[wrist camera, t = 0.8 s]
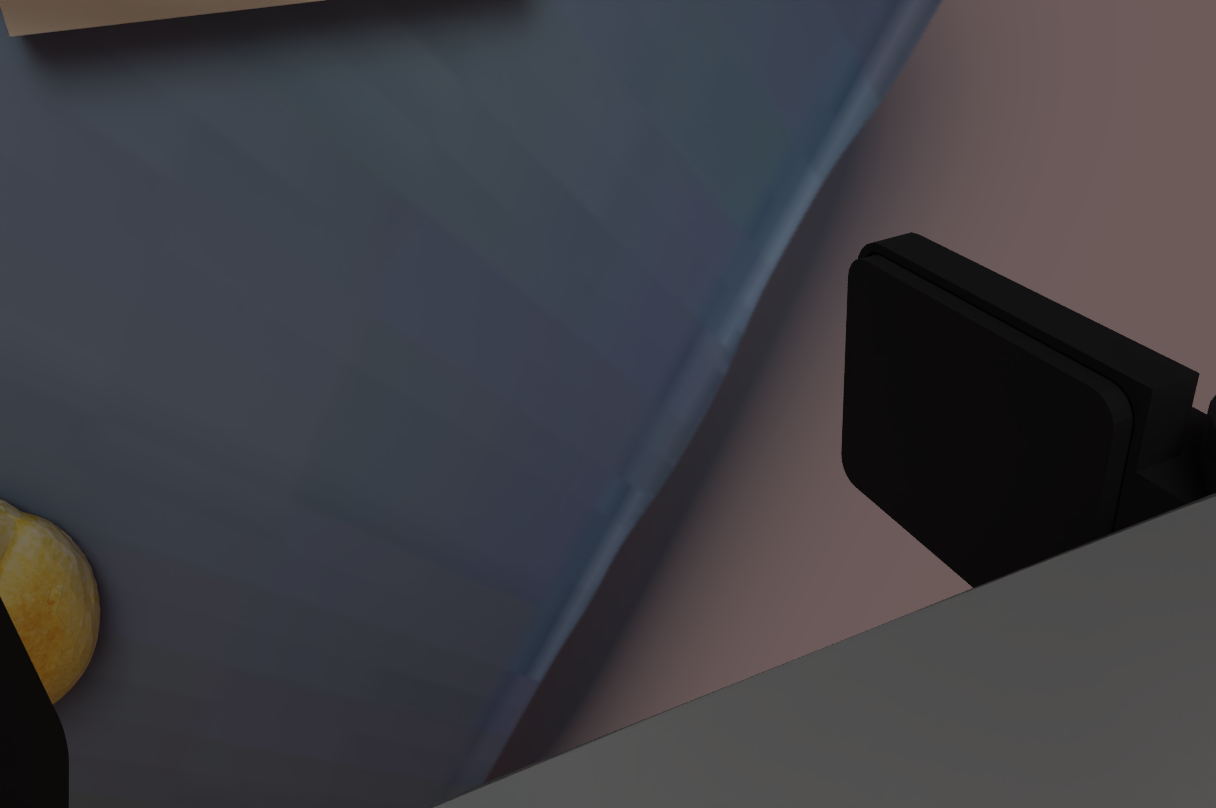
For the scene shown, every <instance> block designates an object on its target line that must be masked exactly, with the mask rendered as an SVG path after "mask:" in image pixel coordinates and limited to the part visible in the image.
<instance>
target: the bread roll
mask: <svg viewBox="0 0 1216 808" xmlns="http://www.w3.org/2000/svg"><path fill="white" fill-rule="evenodd" d="M0 597H1V599H2V601H3V603H4V605H5V607H6V609H7V611H8V613H9V615H10V617H11V620H12V622H13V624H14V626H15V628H16V630H17V632H18V634H19V636H20V638H21V640H22V642H23V644H24V646H25V649H26V651H27V653H28V655H29V657H30V659H31V661H32V663H33V665H34V667H35V669H36V671H37V673H38V675H39V678H40V680H41V682H42V684H43V686H44V688H45V690H46V692H47V694H48V696H49V698H50V700H51V702H52V704H54V703H56V702H57V701H58V700H60V699H61V698H62V697H63V696H64V695H65V694H66V693H67V692H68V691H69V690H70V689H71V688H72V687H73V686H74V685H75V684H76V682H77V681H78V680H79V679H80V677H81V676H82V675H83V673H84V671H85V670H86V668H87V666H88V664H89V662H90V660H91V658H92V655H93V653H94V650H95V646H96V643H97V639H98V632H99V625H100V604H99V599H100V598H99V594H98V588H97V582H96V580H95V578H94V575H93V571H92V568H91V566H90V564H89V562H88V560H87V558H86V556H85V555H84V554H83V552H82V551H81V549H80V548H79V546H78V545H77V544H76V543H75V542H74V541H73V540H72V538H71V537H69V536H68V535H67V534H66V533H65V532H64V531H63V530H61V529H60V528H59V527H58V526H56V525H55V524H53V523H51V522H50V521H48V520H46V519H44V518H42V517H39V516H36V515H32V514H29V513H25V512H22V511H20V510H18V509H17V508H15V507H14V506H12V505H10V504H9V503H7V502H6V501H5V500H1V499H0Z"/></svg>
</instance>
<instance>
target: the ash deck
mask: <svg viewBox="0 0 1216 808" xmlns="http://www.w3.org/2000/svg"><path fill="white" fill-rule="evenodd" d="M315 1H324V0H0V7H1V10H2V13H3V16H4V20H5V23H6V26H7V29H8V32H9V35H10V37H12V36H21V35H29V34H38V33H47V32H55V31H64V30H73V29H81V28H90V27H99V26H107V25H116V24H125V23H133V22H142V21H150V20H159V19H168V18H176V17H185V16H194V15H202V14H211V13H220V12H228V11H237V10H246V9H254V8H263V7H272V6H280V5H289V4H298V3H306V2H315Z"/></svg>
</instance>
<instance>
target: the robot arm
mask: <svg viewBox="0 0 1216 808" xmlns="http://www.w3.org/2000/svg"><path fill="white" fill-rule="evenodd" d="M845 347H846V348H845V373H844V401H843V426H842V453H841V455H842V463H843V467H844V470H845V472H846V475H847V477H848V478H849V480H850V481H851V483H852V484H853V485H854V486H855V487H856V488H858V489H859V490H860V491H861V492H862V493H863V494H864V495H866V496H867V497H868V498H869V499H870V500H871V501H873V502H874V503H875V504H876V505H877V506H878V507H880V508H881V509H882V510H883V511H884V512H885V513H887V514H888V515H889V516H890V517H891V518H892V519H894V520H895V521H896V522H897V523H898V524H900V525H901V526H902V527H903V528H904V529H905V530H907V531H908V532H909V533H910V534H911V535H912V536H913V537H915V538H916V539H917V540H918V541H919V542H920V543H922V544H923V545H924V546H925V547H926V548H928V549H929V550H930V551H931V552H932V553H933V554H934V555H936V556H937V557H938V558H939V559H940V560H942V561H943V562H944V563H945V564H946V565H947V566H948V567H950V568H951V569H952V570H953V571H954V572H956V573H957V574H958V575H959V576H960V577H961V578H962V579H964V580H965V581H966V582H967V583H968V584H970V585H971V586H972V587H973V588H972V589H970V590H967V591H965V592H962V593H960V594H957V595H955V596H953V597H950V598H948V599H945V600H943V601H940V602H937V603H935V604H932V605H930V606H927V607H925V608H923V609H920V610H918V611H915V612H913V613H910V614H907V615H905V616H902V617H900V618H898V619H895V620H892V621H890V622H888V623H885V624H882V625H880V626H877V627H875V628H872V629H870V630H867V631H865V632H862V633H860V634H857V635H855V636H852V637H850V638H847V639H845V640H842V641H840V642H837V643H835V644H832V645H830V646H827V647H825V648H822V649H820V650H817V651H815V652H812V653H810V654H807V655H805V656H802V657H800V658H798V659H795V660H792V661H790V662H787V663H785V664H782V665H780V666H777V667H775V668H772V669H770V670H767V671H765V672H762V673H760V674H757V675H755V676H752V677H750V678H747V679H745V680H742V681H740V682H737V683H735V684H732V685H730V686H727V687H725V688H722V689H720V690H717V691H714V692H712V693H709V694H707V695H705V696H702V697H699V698H697V699H694V700H692V701H690V702H687V703H684V704H682V705H680V706H677V707H674V708H672V709H670V710H667V711H664V712H662V713H659V714H657V715H654V716H652V717H649V718H647V719H644V720H642V721H639V722H637V723H634V724H632V725H629V726H627V727H624V728H622V729H619V730H617V731H614V732H612V733H609V734H607V735H604V736H602V737H599V738H597V739H594V740H591V741H589V742H586V743H584V744H581V745H579V746H576V747H574V748H571V749H569V750H566V751H564V752H561V753H559V754H556V755H554V756H551V757H549V758H546V759H544V760H541V761H539V762H536V763H534V764H531V765H529V766H527V767H524V768H522V769H519V770H517V771H514V772H512V773H509V774H507V775H504V776H502V777H499V778H497V779H494V780H492V781H489V782H487V783H484V784H482V785H480V786H477V787H475V788H472V789H470V790H467V791H465V792H462V793H460V794H457V795H455V796H452V797H450V798H447V799H445V800H442V801H440V802H438V803H435V804H433V805H430V806H428V807H425V808H1216V396H1215V397H1214V398H1213V399H1212V400H1211V402H1210V405H1209V409H1208V413H1207V414H1205V413H1203V412H1201V411H1199V410H1197V409H1195V408H1193V407H1192V403H1193V399H1194V395H1195V390H1196V386H1197V382H1198V377H1199V373H1198V372H1196V371H1193V370H1192V369H1190V368H1188V367H1186V366H1184V365H1182V364H1179V363H1178V362H1176V361H1174V360H1172V359H1170V358H1167V357H1165V356H1163V355H1161V354H1159V353H1157V352H1155V351H1153V350H1151V349H1149V348H1147V347H1145V346H1143V345H1141V344H1139V343H1137V342H1135V341H1133V340H1131V339H1129V338H1127V337H1125V336H1123V335H1121V334H1119V333H1117V332H1115V331H1113V330H1111V329H1109V328H1107V327H1105V326H1103V325H1101V324H1099V323H1097V322H1095V321H1093V320H1091V319H1089V318H1087V317H1085V316H1083V315H1081V314H1079V313H1076V312H1074V311H1072V310H1070V309H1068V308H1066V307H1064V306H1062V305H1060V304H1058V303H1056V302H1054V301H1052V300H1050V299H1048V298H1046V297H1044V296H1042V295H1040V294H1038V293H1036V292H1034V291H1032V290H1030V289H1028V288H1026V287H1024V286H1022V285H1020V284H1018V283H1016V282H1014V281H1012V280H1010V279H1008V278H1006V277H1004V276H1002V275H1000V274H997V273H996V272H994V271H992V270H990V269H988V268H985V267H984V266H982V265H979V264H978V263H976V262H973V261H972V260H970V259H967V258H965V257H963V256H961V255H959V254H957V253H955V252H953V251H951V250H949V249H947V248H945V247H943V246H941V245H939V244H937V243H935V242H933V241H931V240H929V239H927V238H925V237H923V236H921V235H919V234H915V233H912V232H911V233H908V234H904V235H900V236H896V237H893V238H888V239H885V240H881V241H877V242H873V243H870V244H867V245H866V246H864V248H863V249H862V250H861V252H860V254H859V256H858V259H857V260H855V261H854V262H853V263H852V264H851V266H850V269H849V274H848V294H847V321H846V346H845ZM0 808H69V756H68V747H67V742H66V738H65V733H64V730H63V727H62V724H61V722H60V719H59V717H58V715H57V713H56V711H55V709H54V706H53V704H52V702H51V700H50V698H49V696H48V694H47V692H46V690H45V688H44V686H43V684H42V682H41V680H40V678H39V675H38V673H37V671H36V669H35V667H34V665H33V663H32V661H31V659H30V657H29V655H28V653H27V651H26V649H25V646H24V644H23V642H22V640H21V638H20V636H19V634H18V632H17V630H16V628H15V626H14V624H13V622H12V620H11V617H10V615H9V613H8V611H7V609H6V607H5V605H4V603H3V601H2V599H1V597H0Z"/></svg>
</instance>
